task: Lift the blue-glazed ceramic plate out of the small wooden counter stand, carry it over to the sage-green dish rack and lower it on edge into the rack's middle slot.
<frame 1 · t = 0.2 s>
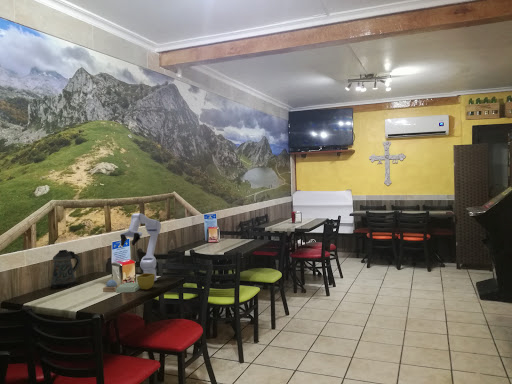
hand: (127, 245, 248), 31 cm above the table, tool tilted 45°, fingers open, 7 cm apart
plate: (111, 285, 260), in the stand
beer stein: (65, 284, 282), on the table
stand: (112, 290, 260), on the table
rack: (129, 289, 259), on the table
flower pot: (146, 288, 260), on the table
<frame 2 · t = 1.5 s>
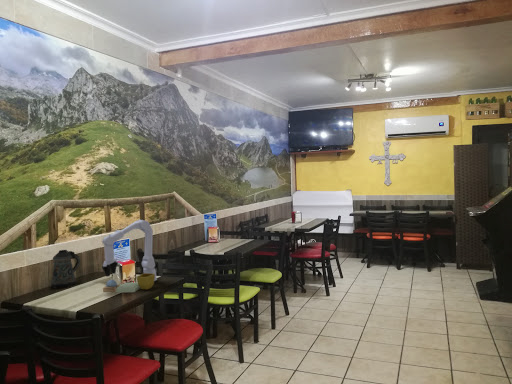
hand: (110, 274, 260), 10 cm above the table, tool pointing down, fingers open, 7 cm apart
nothing on the table moved.
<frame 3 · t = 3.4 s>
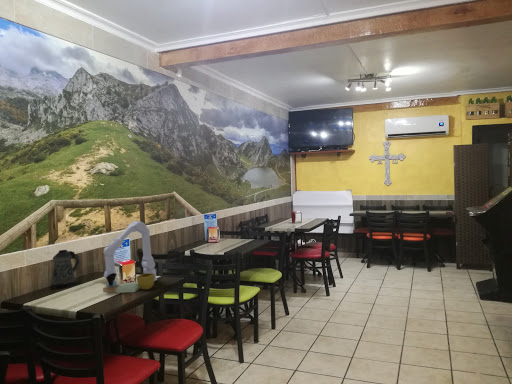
hand: (111, 285, 260), 3 cm above the table, tool pointing down, fingers closed on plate, 1 cm apart
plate: (111, 285, 260), in the stand, touching gripper
everything else where it was.
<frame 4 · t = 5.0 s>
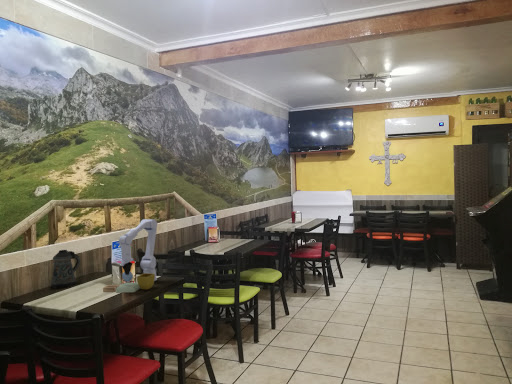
hand: (127, 274, 258), 10 cm above the table, tool pointing down, fingers closed on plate
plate: (127, 276, 258), point 9 cm above the table, touching gripper
everything else where it was.
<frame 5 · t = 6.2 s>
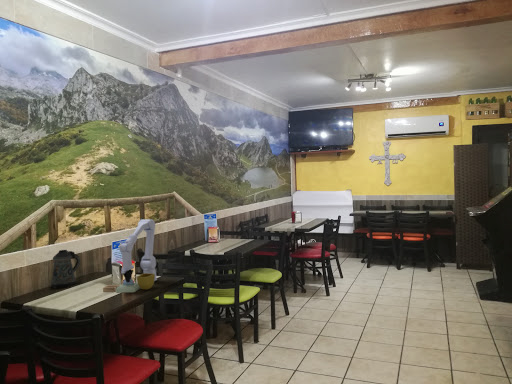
hand: (128, 281, 258), 5 cm above the table, tool pointing down, fingers closed on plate, 1 cm apart
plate: (128, 283, 258), point 4 cm above the table, touching gripper, rack
everything else where it was.
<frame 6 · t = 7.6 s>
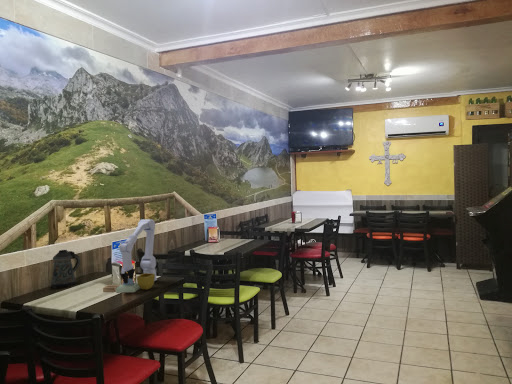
hand: (128, 281, 258), 5 cm above the table, tool pointing down, fingers open, 7 cm apart
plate: (128, 283, 258), point 4 cm above the table, touching rack
everything else where it was.
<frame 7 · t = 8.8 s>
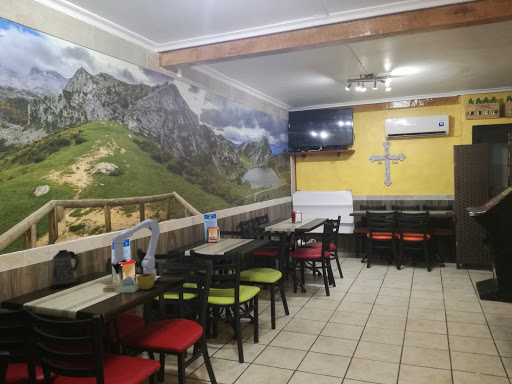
hand: (120, 272, 265), 10 cm above the table, tool pointing down, fingers open, 7 cm apart
nothing on the table moved.
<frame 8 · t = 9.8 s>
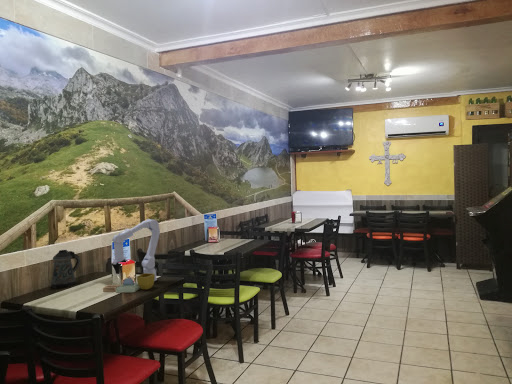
hand: (120, 272, 265), 10 cm above the table, tool pointing down, fingers open, 7 cm apart
nothing on the table moved.
at the end: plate 0.4 cm off-centre on the rack, point 4.3 cm above the rack's base; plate tilted 5°; the gripper is holding nothing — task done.
